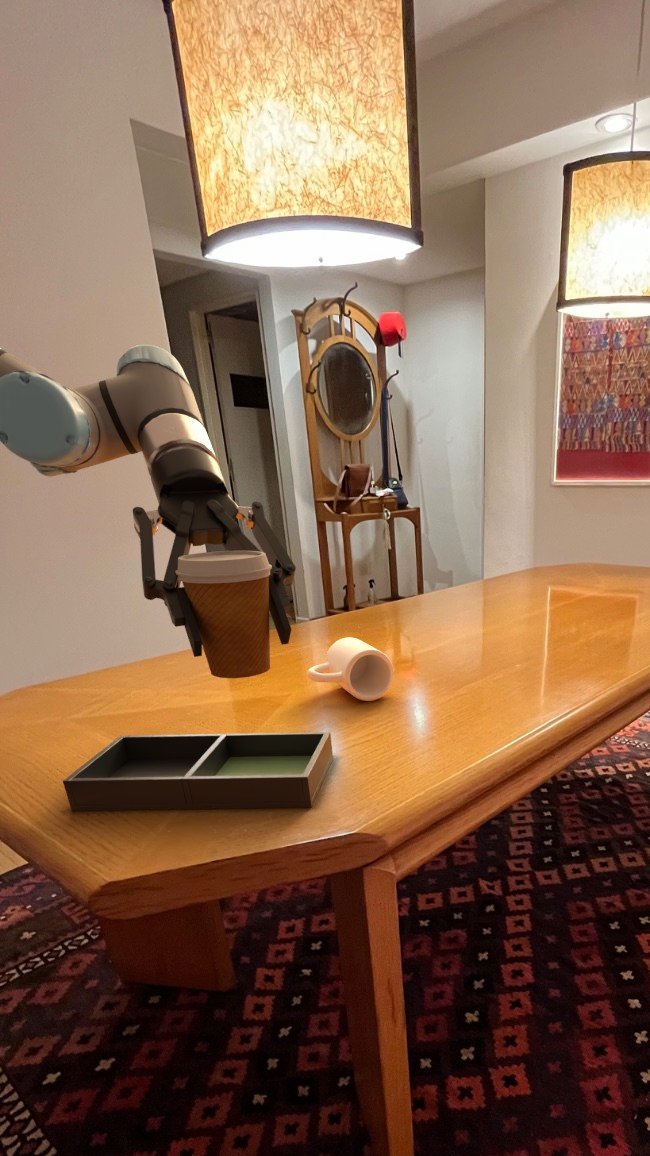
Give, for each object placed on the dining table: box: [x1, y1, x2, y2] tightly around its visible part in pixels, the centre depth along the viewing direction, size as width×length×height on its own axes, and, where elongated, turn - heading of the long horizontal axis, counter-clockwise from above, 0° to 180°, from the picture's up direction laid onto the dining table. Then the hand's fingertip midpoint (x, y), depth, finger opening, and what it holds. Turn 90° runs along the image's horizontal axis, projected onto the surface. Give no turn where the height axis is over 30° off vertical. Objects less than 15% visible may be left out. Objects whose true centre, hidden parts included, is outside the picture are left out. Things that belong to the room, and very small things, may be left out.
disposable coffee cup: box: [175, 550, 272, 679], centre depth 71 cm, size 10×10×12 cm
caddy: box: [62, 731, 334, 812], centre depth 77 cm, size 26×13×4 cm, turn 89°
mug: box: [307, 636, 395, 702], centre depth 106 cm, size 12×10×8 cm
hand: (243, 642), depth 70 cm, fingers closed on disposable coffee cup, 8 cm apart
